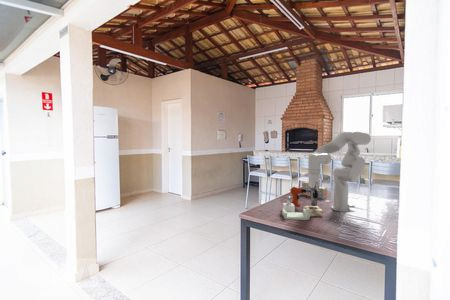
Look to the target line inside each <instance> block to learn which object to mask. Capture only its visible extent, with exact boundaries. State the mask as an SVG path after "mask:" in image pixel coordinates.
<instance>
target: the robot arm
mask: <svg viewBox="0 0 450 300" xmlns="http://www.w3.org/2000/svg"><path fill="white" fill-rule="evenodd" d="M371 140H372V138H371V136H370V135H369V133H367V132H363V131H362V132H361V131H358V130H357V131H356V130H348V131H347V130H345V131H344V130H343V131H340V133H338V134H337V135H336V136H335V137H334V138H333V139H332V140H331V141H330V142H328V143H326V144H324V145H321V146H320V147H318V148H317V149H315V150H314V151H313V153H310V154H308V160H307V161H308V167H307V169H308V170H307V171H308V180H307V182H308V185H309V186H310V187H311V189H313V198H317V199H319V198H318V188H319V187H320V174H321V165H327V164H329V163H331V162H332V156H331V153H337V152H339V151H341V150H342V148H344V146H345V145H347V151H346V152H345V154H344V155H343V157H342V160H341V163H340V164H341V166H339V167H337V166H336V167H335V168H334V169H333V172H332V175H333V185H334V186H333V205H331V207H330V208H331V210H333V211H337V212H343V213H346V212H350V211H351V208H354V209H355V208H356V207H355V206H356V205H355V204H349V184H348V182H349V183H355V182H357V181H358V180H359V178H360V177H361V175H362V173H363V172H364V169H365V166H366V160H365V158H364V157H362V156H360V154H361V149H360V148H359V146H358V145H360V146H361V145H362V146H365V145H369V144H370V142H371ZM315 187H316V188H315Z"/></svg>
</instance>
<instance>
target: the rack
mask: <svg viewBox="0 0 450 300" xmlns="http://www.w3.org/2000/svg"><path fill="white" fill-rule="evenodd" d="M281 215H282V216H283V219H284V220H295V221H296V220H298V221H299V220H302V221H310V220H311V219H310V217H311V216H310V214H309V212H308V211H307V210H306V209H304V208H303V209H302V212H297V211H296V212H286V211H285V209H283V208H281Z"/></svg>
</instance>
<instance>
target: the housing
mask: <svg viewBox="0 0 450 300" xmlns="http://www.w3.org/2000/svg"><path fill="white" fill-rule="evenodd" d="M295 208H296V206H294V204H293V203H291V205H287V202H282V209H285V211H286V212H295V211H296V209H295Z"/></svg>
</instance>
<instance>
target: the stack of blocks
mask: <svg viewBox="0 0 450 300" xmlns="http://www.w3.org/2000/svg"><path fill="white" fill-rule="evenodd" d="M315 188H316V187H315ZM301 189H305V190H308V191H311V187H310V186H309V185H308V180H307V181H306V180H305V181H301ZM327 191H328V188H327V187H323V186H319V188H318V198H317V199H321V200H324V199H327V194H328V193H327ZM301 195H303V196H306V195H307V197H311V192H306V193H301Z"/></svg>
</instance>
